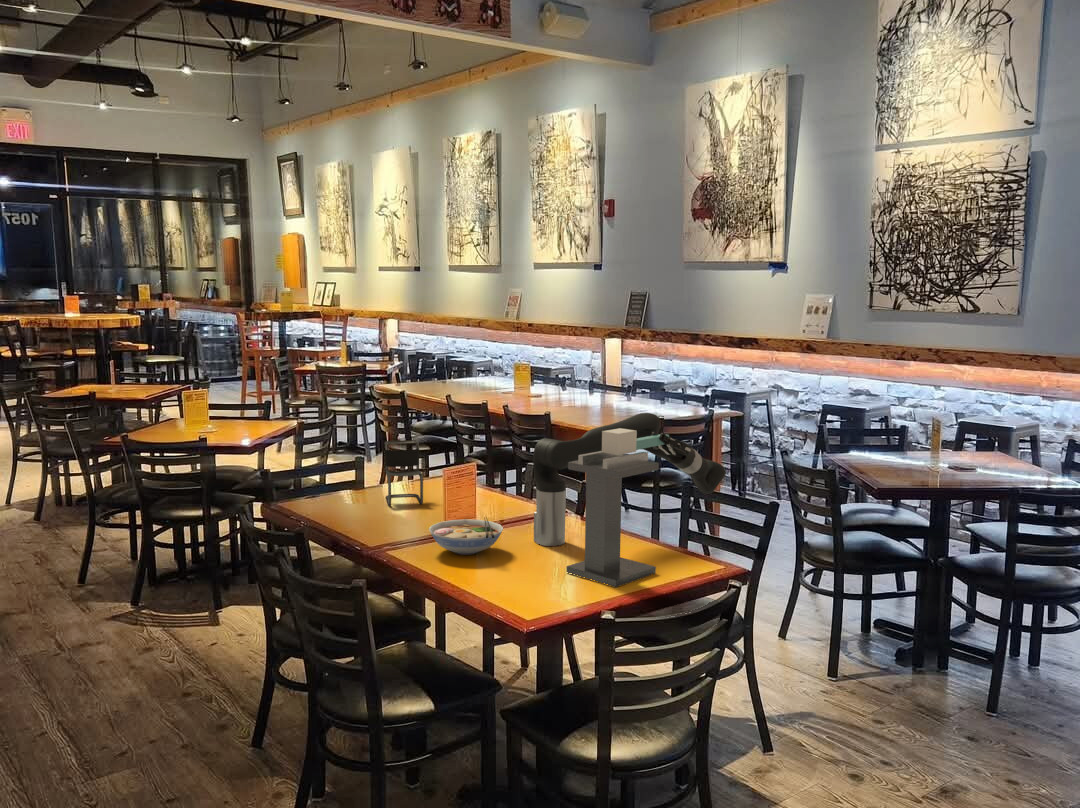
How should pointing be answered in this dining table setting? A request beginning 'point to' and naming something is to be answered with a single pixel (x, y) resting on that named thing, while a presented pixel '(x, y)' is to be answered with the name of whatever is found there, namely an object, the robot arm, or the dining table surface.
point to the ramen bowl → (466, 535)
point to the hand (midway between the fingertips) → (656, 435)
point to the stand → (608, 517)
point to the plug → (626, 441)
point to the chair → (402, 461)
